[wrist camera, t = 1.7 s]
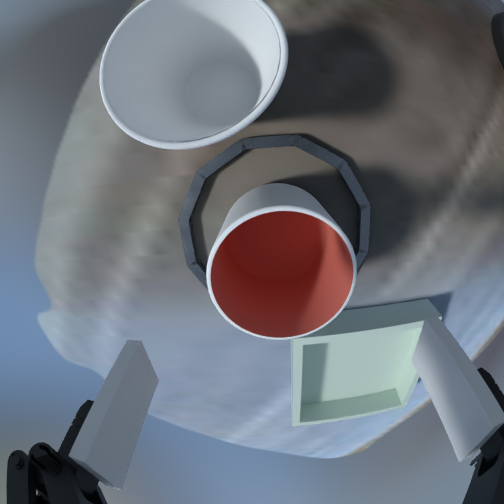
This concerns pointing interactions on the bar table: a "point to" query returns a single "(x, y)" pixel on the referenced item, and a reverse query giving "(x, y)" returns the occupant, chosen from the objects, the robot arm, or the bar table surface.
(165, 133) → the coffee cup
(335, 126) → the bar table surface
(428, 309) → the bin
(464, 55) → the bar table surface
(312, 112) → the bar table surface
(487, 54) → the bar table surface
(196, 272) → the socket ring
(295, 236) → the cup
